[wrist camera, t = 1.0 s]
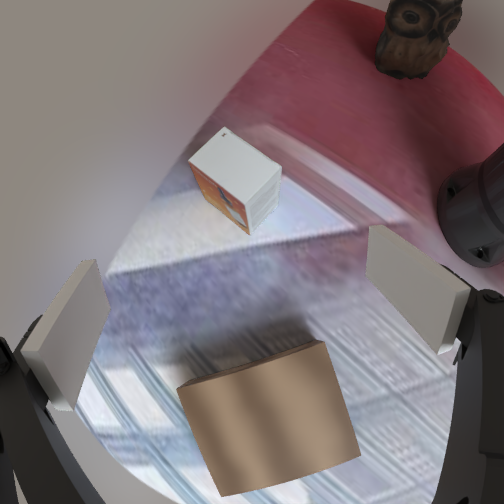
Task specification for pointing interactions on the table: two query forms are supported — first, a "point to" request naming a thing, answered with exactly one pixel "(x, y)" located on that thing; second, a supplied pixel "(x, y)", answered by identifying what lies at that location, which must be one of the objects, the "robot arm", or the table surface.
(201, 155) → the small box
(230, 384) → the walnut block
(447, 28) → the owl
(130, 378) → the table surface
